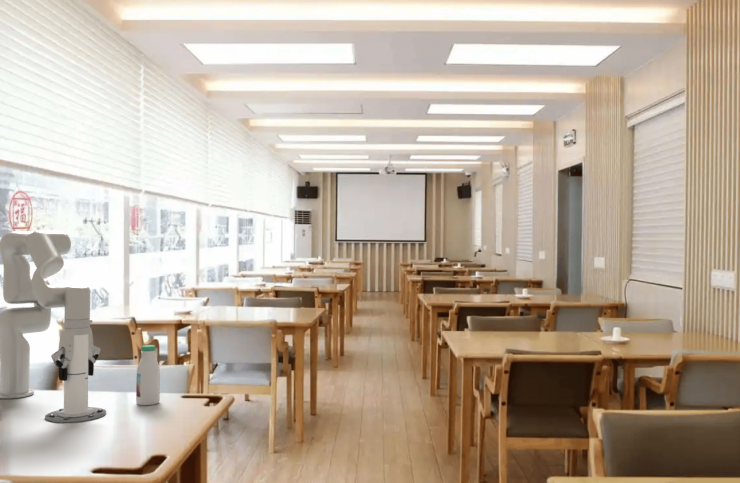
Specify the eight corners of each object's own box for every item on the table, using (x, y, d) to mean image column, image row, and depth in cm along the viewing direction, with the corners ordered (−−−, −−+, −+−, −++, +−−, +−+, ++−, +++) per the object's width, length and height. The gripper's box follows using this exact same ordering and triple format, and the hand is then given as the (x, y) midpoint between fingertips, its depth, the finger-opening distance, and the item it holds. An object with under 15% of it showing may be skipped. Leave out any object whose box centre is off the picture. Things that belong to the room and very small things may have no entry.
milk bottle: (163, 401, 238) (163, 344, 238) (154, 406, 231) (154, 347, 231) (142, 400, 239) (142, 343, 239) (132, 405, 231) (132, 347, 231)
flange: (32, 417, 214) (32, 414, 214) (82, 406, 229) (82, 402, 229) (69, 425, 205) (69, 421, 205) (118, 413, 220) (118, 409, 220)
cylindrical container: (58, 412, 216) (59, 334, 216) (77, 407, 222) (78, 331, 222) (74, 415, 212) (74, 336, 212) (92, 410, 219) (93, 333, 219)
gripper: (92, 321, 227) (91, 372, 227) (45, 326, 212) (44, 381, 212) (107, 322, 223) (106, 374, 223) (60, 328, 208) (59, 383, 208)
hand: (76, 377), depth 217 cm, fingers open, 9 cm apart
